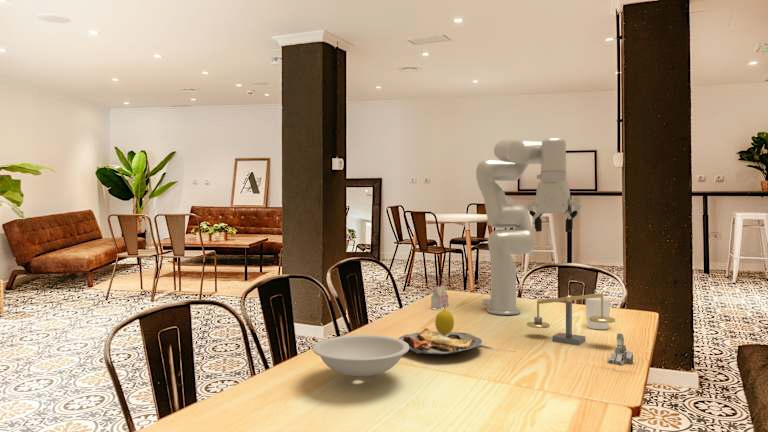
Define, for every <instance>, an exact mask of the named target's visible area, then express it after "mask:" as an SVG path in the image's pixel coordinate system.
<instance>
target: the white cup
mask: <svg viewBox="0 0 768 432" xmlns="http://www.w3.org/2000/svg"><path fill="white" fill-rule="evenodd" d="M584 300H585V316H586V325H587V328H589V329H593V330H594V329H595V330H607V329H609V325H610V323H599V322H593V321H590V320H589V317H592V316H601V297H599V298H589V299H584ZM610 309H611V298H609V297H605V296H603V316H605V317H610V313H611V310H610Z"/></svg>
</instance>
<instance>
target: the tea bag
mask: <svg viewBox="0 0 768 432" xmlns="http://www.w3.org/2000/svg"><path fill="white" fill-rule="evenodd" d="M430 301H431V303H430V304H431V305H430V306H431V308H436V309H441V308H443V307H446V306H448V307H449V295H448V292H447V289H446V287H445V285H440V286H436V287H434V290H433V293H432V295H431V300H430ZM431 308H430V309H431ZM441 310H442V309H441Z"/></svg>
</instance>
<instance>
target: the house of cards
mask: <svg viewBox="0 0 768 432" xmlns="http://www.w3.org/2000/svg"><path fill="white" fill-rule="evenodd" d="M615 340H616V346H615V347H614V350H613V351H612V352H611V353H610V357H609V358H607V364H611V365H618V366H623V365H625V364H629V365H632V364H633V363H634V354H633V353H634V352H632V351H630V350H627V345H626V344H625V342H624V341H625V338H624V334H623V333H619V332H618V333H617V335H616V338H615Z"/></svg>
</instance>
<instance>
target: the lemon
mask: <svg viewBox="0 0 768 432" xmlns="http://www.w3.org/2000/svg"><path fill="white" fill-rule="evenodd" d="M434 324H435V325H434V326H435V328H436V331H439V332H440V333H442V335H444V336H445V335H446V334H448V333H450V332H453V329H454V326H455V320H454V316H453V314H452V313H451V312H450V311H448V310H447V309H446V308H444V309H442V310H440V311H439V312H438V313H437V315H436V316H435V323H434Z"/></svg>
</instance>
